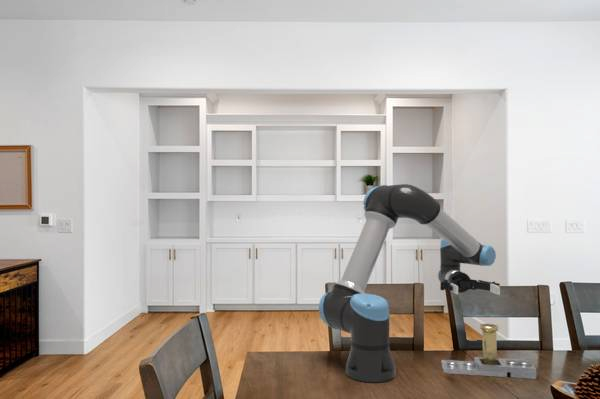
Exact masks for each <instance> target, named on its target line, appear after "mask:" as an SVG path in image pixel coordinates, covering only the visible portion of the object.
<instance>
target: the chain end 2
mask: <svg viewBox="0 0 600 399" xmlns="http://www.w3.org/2000/svg"><path fill="white" fill-rule="evenodd" d="M473 358H474V360H473V362H475V363H476V366H477V368H478V370H482V371H499V372H507V375H508V376H509V377H510V378H512V379H513V378H514V379H515V378H516V379H531V380H537V369H536V367H535V366H534V364H533V363H532V362H531V361H530V360H529V359H516V358H498V357H497V364H498V365H488V364H482V363H483V356H482V357H481V356H474V357H473Z"/></svg>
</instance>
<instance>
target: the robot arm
mask: <svg viewBox="0 0 600 399" xmlns="http://www.w3.org/2000/svg"><path fill="white" fill-rule="evenodd" d="M362 205H364V207H363V210H364V218H365V219H366V221H365V223H364V224H363V228H362V230H361V232H360V234H359V237H358V239H357V242H356V244H355V247H354V248H353V251H352V253H351V256H350V257H349V261H348V263H347V266H346V268H345V270H344V273H343V275H342V278H341V280H340V281H337V282H335V283H334V285H333V287H332V289H331V290H330V291H327V292H325V293H324V294H323V295H322V296H321V298H320V300H319V304H318V314H320V319H321V320H322V321H323V323H324V324H325V325H327V326H328V327H330V328H333V330H334V329H335V330H339V331H342V332H345V333H348V334H350V350H349V354H348V357H347V359H346V360H347V361H346V363H345V375H346V376H347V377H349V378H350V379H353V380H356V381H360V382H365V383H382V382H387V381H391V380H393V379H394V378H395V377H396V372H397V371H396V365H395V362H394V359H393V356H392V353H391V349H390V316H391V315H390V313H391V312H390V310H389V309H390V307H389V306H390V305H389V302H388V301H387V299H385V298H384V297H382V296H379V295H378V294H377V295H376V294H370V293H366V292H365V291H366V288H367V285H368V283H369V280H370V278H371V276H372V272H373V270H374V268H375V265H376V263H377V260H378V258H379V256H380V253H381V251H382V248H383V245H384V243H385V240H386V238H387V236H388V233H389V231H390V229H393V228H395V227H396V225H397V222H398V220H399V219H401V218H402V219H410V220H413V221H414V220H415V221H416V222H417V223H419V224H420V225H426V227H427V228H429V229H431V230H432V231H433V232H434V233H436V234H437V235H438V236H439V237H440V238H441V240H440V247H439V248H440V249H439V250H440V256H439V257H440V265H439V266H440V267H439V268H440V269H439V270H438V272H437V279H438V280H439V282H440V287H439V288H440V291H444V290H445V293H446V294H447V293H449V294H450V292H451V293H453V294H455V295H459V293H460V294H462V293H465V292H467V291H469V290H474V291H476V290H483V291H489V292H491V293H492V294H495V295H497V296H500V295H501V287H500V285H501V284H500V283H499V282H498V283H497V282H496V281H487V280H486V281H485V280H481V279H472V278H471V277H470V276H469V275H468V274H467V273H465V272H463V271H461V264H464V265H465V264H466V265H475V266H481V267H483V266H484V267H485V266H486V267H487V266H488V267H489V266H492V265H493V264H494V263H495V260H496V255H497V254H496V251H495V250H496V249H495V248H494V247H493V246H491V245H487V244H481V242H479V241H478V240H477V239H476V238H474V236H472V235H471V233H470V232H468V231H467V230H466V229H464V228H463V227H462V226H461V225H460V224H459V223H458V222H457V221H456V220H455V219H453V218H452V217H451V216H450V215H449V214H447V212H446V211H444V209H442V206H441V204H440V202H439V201H438V200H437V199H435V198H434V197H433V196H432V195H431V194H429V193H428V192H426V191H424V190H423V189H421V188H419V187H417V186H414V185H413V184H408V183H403V184H392V185H387V184H385V185H384V184H383V185H382V184H381V185H378V186H374V187H371V188H370V189H369V190H368V191H367V192H366V194H365V196H364V198H363V204H362Z"/></svg>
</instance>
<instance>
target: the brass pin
mask: <svg viewBox="0 0 600 399" xmlns="http://www.w3.org/2000/svg"><path fill="white" fill-rule="evenodd" d="M479 329H480V330H481V333H482V334H481V335H482V338H481V339H482V357H483V364H488V365H497V358H498V351H497V349H498V348H497V343H498V342H497V341H498V340H497V331H499V325H497V324H495V323H494V324H493V323H481V324H480V326H479Z"/></svg>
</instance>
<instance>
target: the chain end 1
mask: <svg viewBox="0 0 600 399" xmlns="http://www.w3.org/2000/svg"><path fill="white" fill-rule="evenodd" d="M440 363H441V368H442V371H443V373H444V374H450V375H451V374H452V375H453V374H454V375H470V376H485V377H486V376H487V377H499V378H500V377H501V378H508V373H507V372H499V371H482V370H478V368H477V366H476V363H475V362H474V361H473V360H454V359H441V362H440ZM482 364H483V363H482ZM497 365H498V364H497Z"/></svg>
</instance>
